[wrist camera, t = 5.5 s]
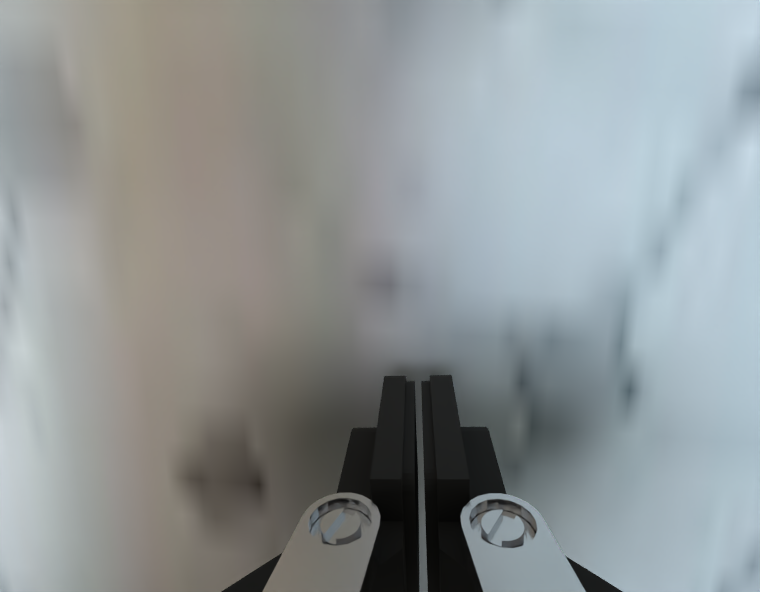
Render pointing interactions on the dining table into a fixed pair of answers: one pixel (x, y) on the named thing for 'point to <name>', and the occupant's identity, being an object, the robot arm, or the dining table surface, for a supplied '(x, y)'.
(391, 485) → the robot arm
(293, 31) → the dining table surface
